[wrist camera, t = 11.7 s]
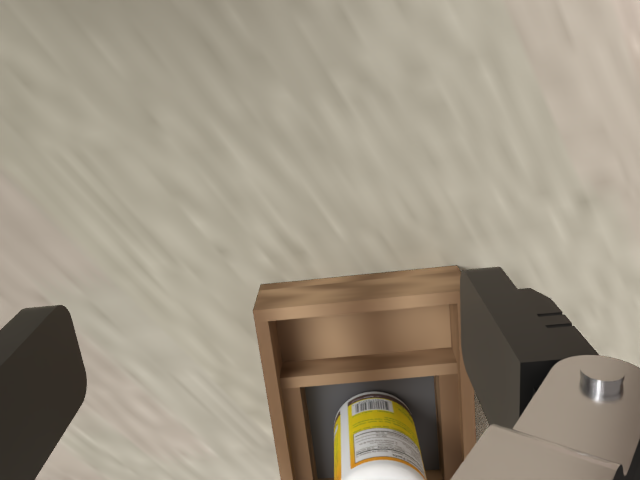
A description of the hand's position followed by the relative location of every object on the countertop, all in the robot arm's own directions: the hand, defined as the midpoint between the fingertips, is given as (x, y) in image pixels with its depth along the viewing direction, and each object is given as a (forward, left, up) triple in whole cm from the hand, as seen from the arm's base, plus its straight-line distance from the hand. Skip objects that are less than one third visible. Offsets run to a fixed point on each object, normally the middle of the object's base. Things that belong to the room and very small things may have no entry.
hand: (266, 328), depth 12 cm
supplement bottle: (+2, -20, -25) cm, 32 cm away
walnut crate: (+2, -17, -26) cm, 31 cm away
